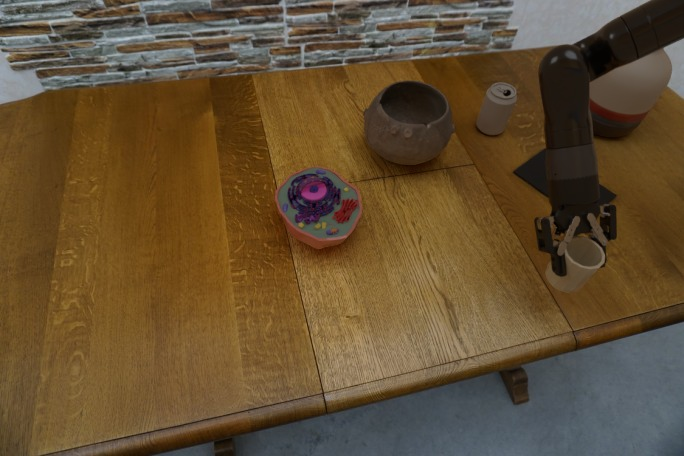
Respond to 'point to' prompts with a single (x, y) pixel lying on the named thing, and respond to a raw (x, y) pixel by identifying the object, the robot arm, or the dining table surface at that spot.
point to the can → (496, 108)
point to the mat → (537, 177)
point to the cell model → (319, 206)
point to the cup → (577, 264)
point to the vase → (628, 94)
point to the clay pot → (408, 122)
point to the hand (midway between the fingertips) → (580, 270)
